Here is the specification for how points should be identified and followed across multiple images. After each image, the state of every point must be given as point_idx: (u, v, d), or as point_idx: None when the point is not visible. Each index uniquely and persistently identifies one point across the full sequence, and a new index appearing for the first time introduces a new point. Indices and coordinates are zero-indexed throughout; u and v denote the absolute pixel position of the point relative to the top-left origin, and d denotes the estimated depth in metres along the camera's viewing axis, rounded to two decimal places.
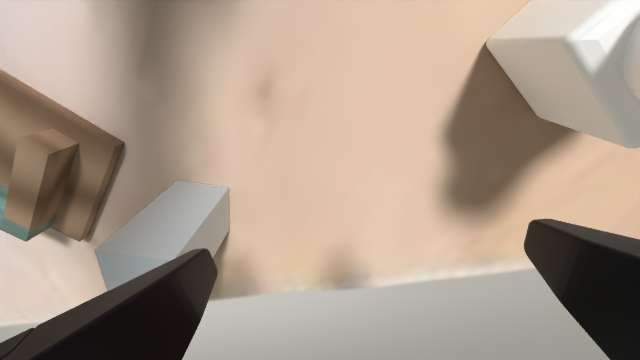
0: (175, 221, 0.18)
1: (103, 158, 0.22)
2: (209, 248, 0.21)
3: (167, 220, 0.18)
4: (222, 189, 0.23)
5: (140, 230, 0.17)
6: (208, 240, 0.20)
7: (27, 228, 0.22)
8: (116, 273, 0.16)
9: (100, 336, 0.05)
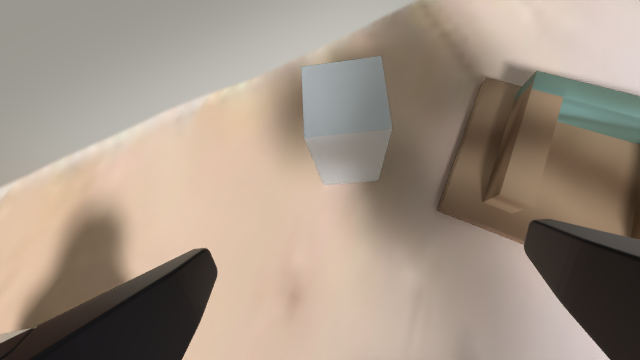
0: (341, 159, 0.17)
1: (454, 190, 0.20)
2: None
3: (349, 158, 0.17)
4: (328, 183, 0.22)
5: (365, 148, 0.15)
6: None
7: (533, 90, 0.19)
8: (370, 101, 0.14)
9: (100, 336, 0.05)
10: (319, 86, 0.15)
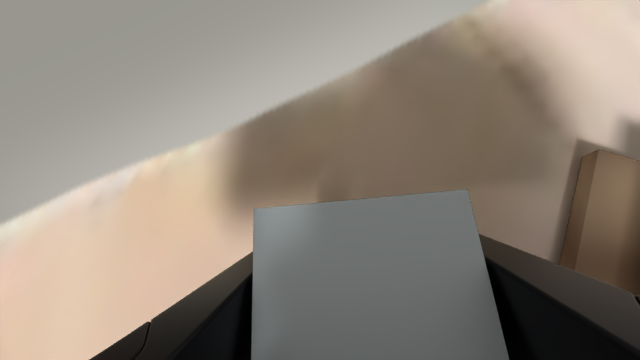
0: None
1: None
2: None
3: None
4: None
5: None
6: None
7: None
8: (450, 350, 0.05)
9: (218, 330, 0.04)
10: (298, 277, 0.05)
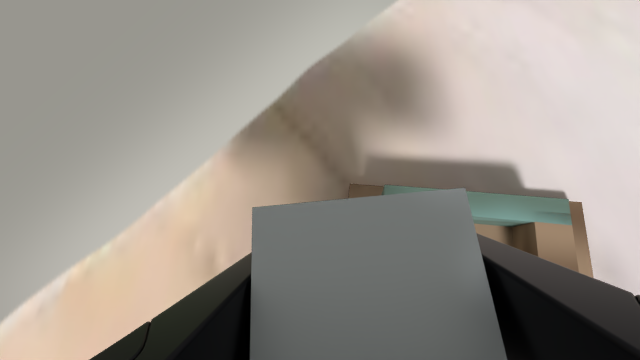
0: None
1: None
2: None
3: None
4: None
5: None
6: None
7: None
8: (448, 347, 0.05)
9: (218, 330, 0.04)
10: (297, 275, 0.05)
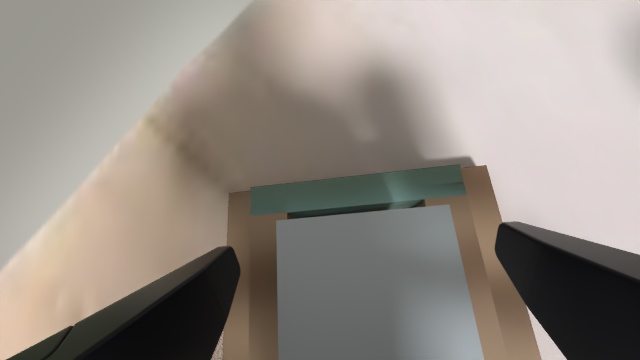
0: None
1: None
2: None
3: None
4: None
5: None
6: None
7: (252, 216, 0.14)
8: (434, 332, 0.06)
9: (140, 334, 0.05)
10: (314, 276, 0.07)
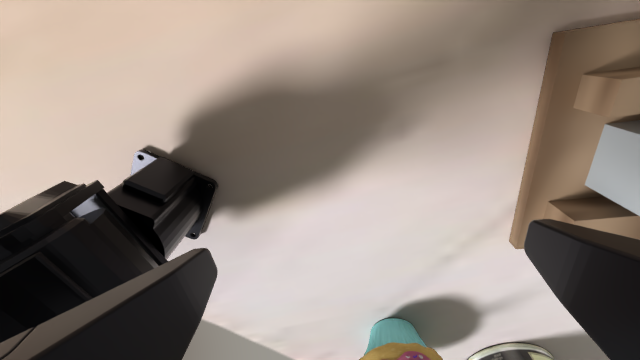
0: None
1: (594, 37, 0.15)
2: None
3: None
4: (608, 132, 0.17)
5: None
6: None
7: None
8: None
9: (100, 336, 0.05)
10: None
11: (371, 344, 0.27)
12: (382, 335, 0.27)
